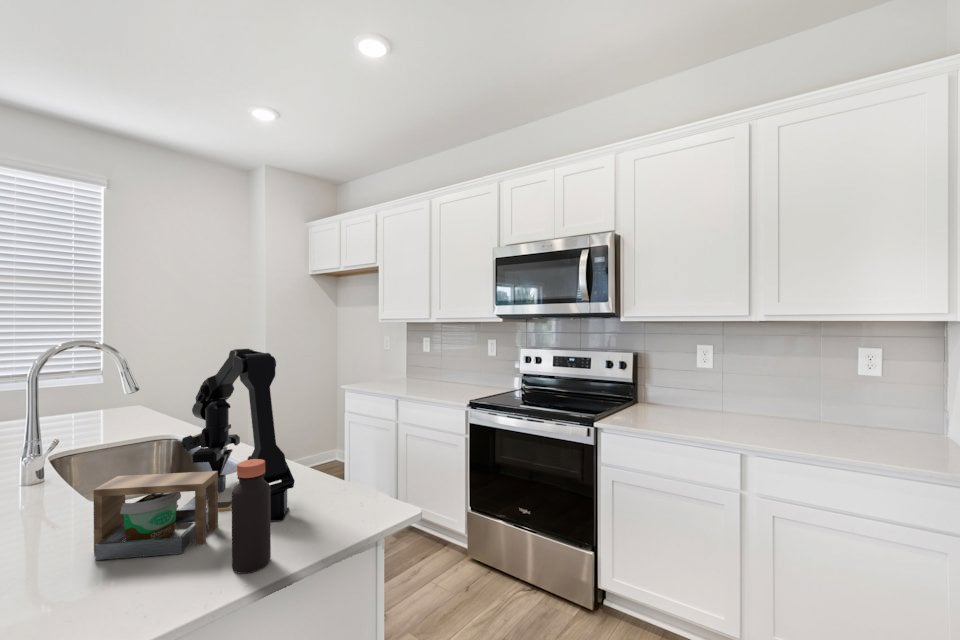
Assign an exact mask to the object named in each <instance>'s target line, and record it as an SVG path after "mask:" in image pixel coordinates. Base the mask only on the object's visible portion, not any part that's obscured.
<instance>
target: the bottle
mask: <svg viewBox="0 0 960 640" xmlns="http://www.w3.org/2000/svg"><path fill="white" fill-rule="evenodd" d="M236 466H237V467H236V470H237V471H236V477H237V478H236V479H237V480H238V483H237V484H236V485H235V487H233V489H232V491H231V501H232V508H231V568H232V570H233V571H234V572H235V573H239V574H249V573H253V572H258V571H259V570H262V569H263V568H265V567H266V566H267V565H269V564H270V562H271V557H272V556H271V555H272V554H271V553H272V552H271V549H272V547H271V544H272V543H271V534H272V533H271V523H272V521H271V514H270V485H271V484H270V483H268V482H266V481H265V480H264V479H263V476H264V475H265V461H264V460H262V459H251V460H247V459H246V460H243V461H241V462H239V463H237V464H236Z"/></svg>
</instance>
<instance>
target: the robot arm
mask: <svg viewBox="0 0 960 640" xmlns="http://www.w3.org/2000/svg"><path fill="white" fill-rule="evenodd" d="M276 367H277V361H276V358H275V357H274V356H273V355H271V353H269V352H261V351H256V350H254V349H251V348H234V349H232V350H230V351H229V354H228V358H227V359H226V360H225V361H224V363H223V364H222V366H221V367H220V368H219V370H218V371H217V372H216V374H215V375H212V376H209V377H207V378H206V379H205V380H204V381H203V382H202V384H201V385H200V386H199V389H198V391H197V393H196V396H195V403H194V404H193V406H192V408H191V411H192V415H193V416H194V417H195V418H197V419H200V420H203V421H205V427H204V428H202V429H201V432H200V433H197V434H195V435H187V436H185V437H183V438H182V440H181V442H180V448H181V449H183V450H184V451H185V452H186V453H187V452H189V451H191V450H193V449H195V448H198V447H200V448H199V449H197V450H195V452H193V453H192V454H191V460H190V461H191V463H192V464H195V463H208V464H209V466H210V469H211V471H218V475H223V471H224V469H225V467H226V464H227V462H228V461H229V459H230V456H231V454H232V453H233V451H234V450H233V449H228V447H227V446H228V445H231V444H234V446H238V445H239V444H241V440H240V439H241V438H240V436H239V435H238V434H237V433H236V434H230V433H229V432H230V431H229V430H230V429H232V424H229V419H230V418H229V414H230V413H229V409H230V408H231V404H230V403H228V402H227V400H229V398H231V396H232V395H233V393H234V391H235V387H234V383H235V382H236V381H237V379H238V378H239V381H240V382H241V383H242V384H243V386H245V388H246V389H247V390H248V397H249V406H250V407H249V408H250V417H251V428H252V435H253V436H252V437H253V445H254V447H253V448H254V449H253V451H252V452H251V453H252V454H251V455H249V456H247V459H246V460H251V459H262V460H264V461H265V475H264V476H263V479H264V480H265V481H266V482H268V483H269V485H270V514H271V522H278V521H279V522H280V521H283V520H285V518H286V517H287V515H288V512H289V511H290V507H288V490H290V489H294V486H295V478H294V476H293V474H292V472H291V469H290V467H289V465H288V462H287V461H286V456H285V453H284V452H283V451H282V450H281V448H280V447H279V445H277V441H276V440H277V439H276V431H275V422H274V421H275V419H274V414H273V413H274V412H273V403H272V394H271V386H272V383H273V381H274V379H275V377H276ZM278 481H280V482H278ZM274 482H276V483H274ZM271 483H273V484H271Z"/></svg>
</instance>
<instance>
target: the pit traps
mask: <svg viewBox="0 0 960 640" xmlns="http://www.w3.org/2000/svg"><path fill="white" fill-rule="evenodd" d="M177 507H179V503H177ZM231 510H232V500H222V501H218V512H219V511H220V512H221V511H231Z"/></svg>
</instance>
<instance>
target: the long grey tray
mask: <svg viewBox="0 0 960 640" xmlns="http://www.w3.org/2000/svg"><path fill="white" fill-rule="evenodd" d="M226 477H227V475H226V474H221V475H218V493H222V492H224V491H225V490H226V484H227V483H226V482H227V480H226V479H227V478H226ZM206 501H208V487H206ZM186 523H187V524H188V523H192V524H191V525H190V526H189V527H187V529H186V530H184V532H183V533H182V534H181V535H180V536H175V537H173V536H172V537H171V538H159V539H146V540H132V541H126V532H125V523H124V524H123V525H121V526H120V527H119V528H117V529H116V530H115V531H113V532H112V533H111V534H109V535H108V536H107V537H105V538H104V539H103V540H101V541H100V542H99V543H97V544H96V545H95V553H94V555H95V558H94V560H95V561H99V560H101V561H102V560H112V559H125V558H127V559H128V558H139V557H150V556H163V555H165V556H166V555H175V554H176V555H177V554H183V553H184V551H185V550H186V549H187V548H188V547H189V546H190V545H191V544H192V543H193V542H194V541H195V496H194V497H192V498H191V499H190V500H189V501H187V503H186V504H184V505H183V506H182V507H181V508H177V510H176V520H175V524H186ZM207 527H208V506H206V528H207Z"/></svg>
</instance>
